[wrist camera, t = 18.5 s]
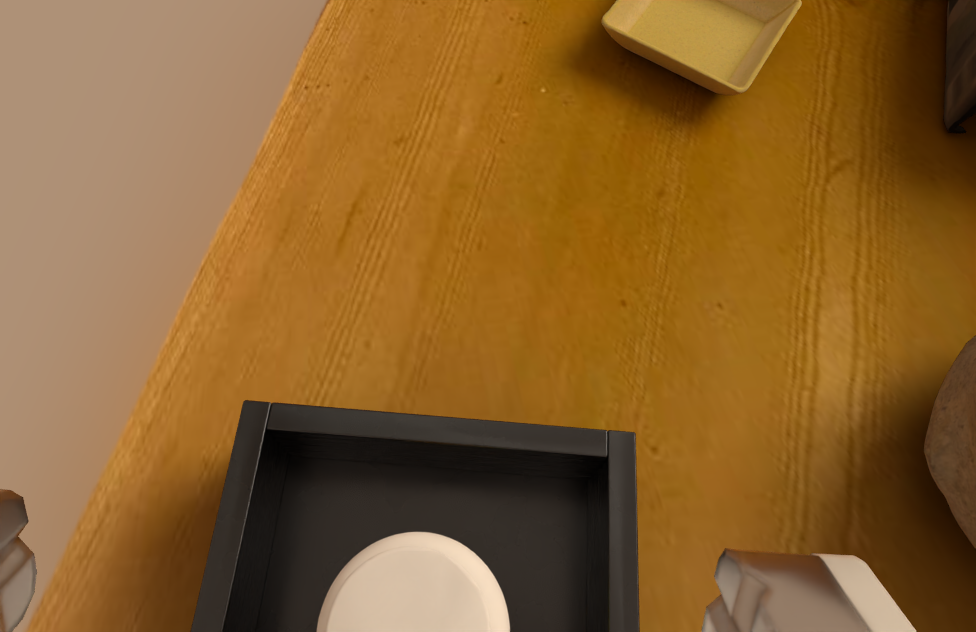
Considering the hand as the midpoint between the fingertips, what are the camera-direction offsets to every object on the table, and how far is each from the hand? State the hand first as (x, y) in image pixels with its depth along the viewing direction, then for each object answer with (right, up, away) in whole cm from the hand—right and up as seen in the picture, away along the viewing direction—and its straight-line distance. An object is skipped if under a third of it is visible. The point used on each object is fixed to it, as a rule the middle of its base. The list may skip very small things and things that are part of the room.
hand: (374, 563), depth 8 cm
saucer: (+13, +19, +32) cm, 39 cm away
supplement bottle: (-1, -9, +17) cm, 19 cm away
